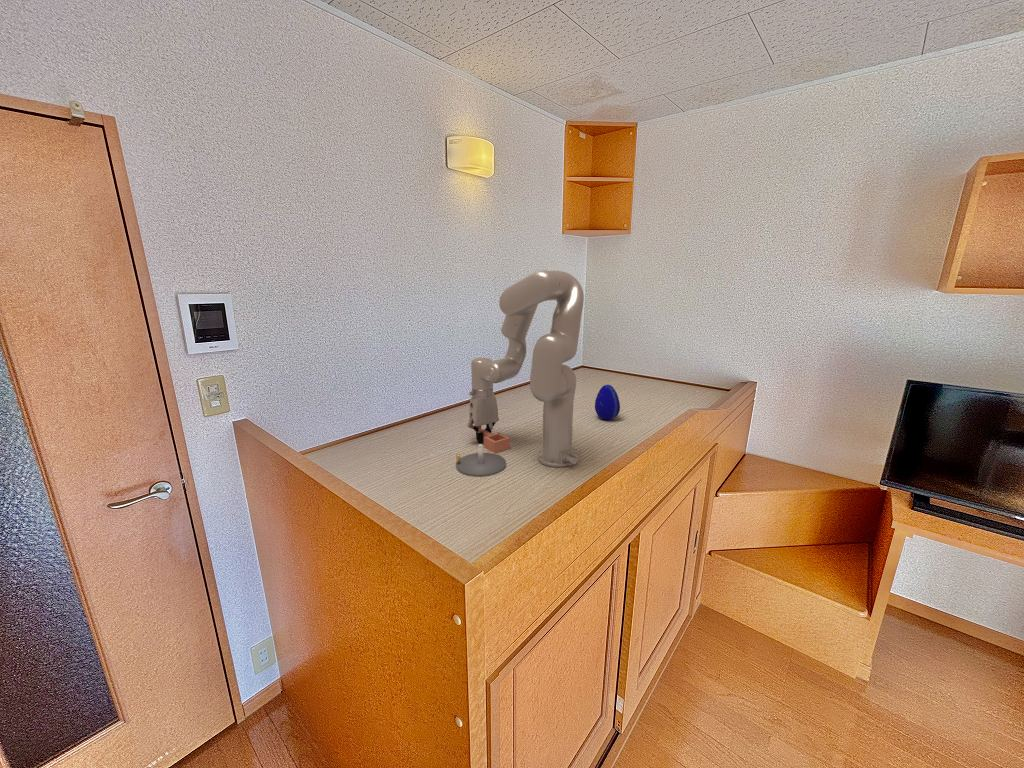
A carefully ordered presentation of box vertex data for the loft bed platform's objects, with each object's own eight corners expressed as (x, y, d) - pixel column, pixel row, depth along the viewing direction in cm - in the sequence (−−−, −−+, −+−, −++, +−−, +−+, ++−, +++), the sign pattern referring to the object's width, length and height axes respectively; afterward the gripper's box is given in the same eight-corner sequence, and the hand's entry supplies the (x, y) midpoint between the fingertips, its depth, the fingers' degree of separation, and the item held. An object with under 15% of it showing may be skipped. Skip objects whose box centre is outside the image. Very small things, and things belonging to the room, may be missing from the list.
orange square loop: (510, 448, 145) (510, 438, 144) (494, 453, 141) (494, 442, 140) (488, 437, 155) (488, 427, 154) (473, 441, 151) (473, 431, 150)
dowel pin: (461, 463, 131) (460, 454, 131) (457, 464, 131) (457, 455, 130) (459, 462, 132) (458, 453, 132) (455, 463, 132) (455, 454, 131)
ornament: (623, 421, 172) (625, 386, 168) (604, 424, 169) (606, 388, 165) (607, 413, 182) (609, 380, 178) (589, 416, 179) (591, 382, 175)
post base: (516, 466, 130) (515, 445, 129) (473, 481, 121) (472, 458, 119) (487, 451, 143) (487, 431, 141) (446, 463, 133) (445, 442, 132)
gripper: (468, 398, 139) (470, 449, 144) (507, 391, 149) (507, 438, 153) (457, 394, 145) (459, 443, 150) (495, 387, 155) (496, 433, 159)
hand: (483, 440), depth 151 cm, fingers open, 3 cm apart
